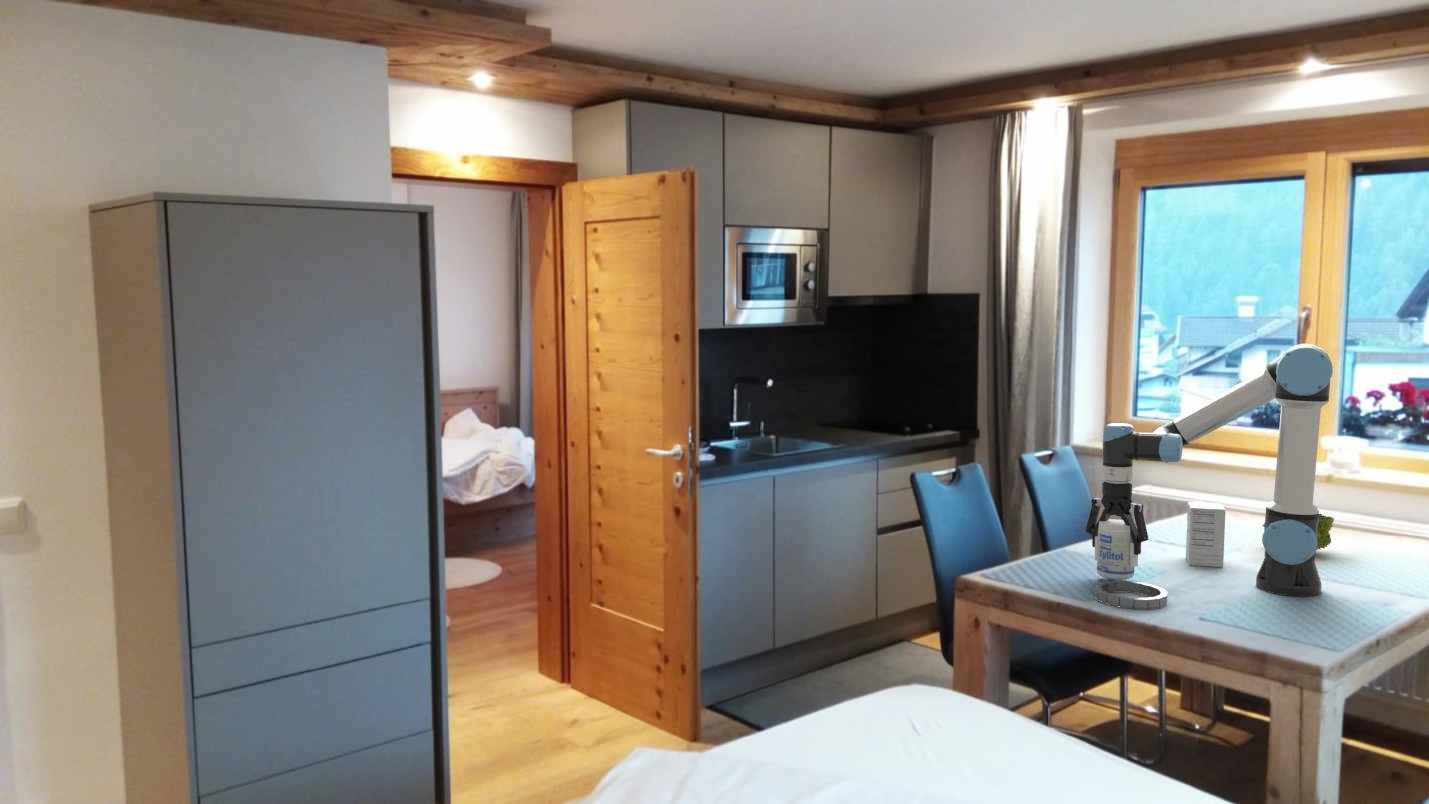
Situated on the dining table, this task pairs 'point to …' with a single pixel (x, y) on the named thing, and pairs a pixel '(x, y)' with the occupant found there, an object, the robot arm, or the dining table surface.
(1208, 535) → the supplement box
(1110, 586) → the collar
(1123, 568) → the supplement tub
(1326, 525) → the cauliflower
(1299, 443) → the robot arm
